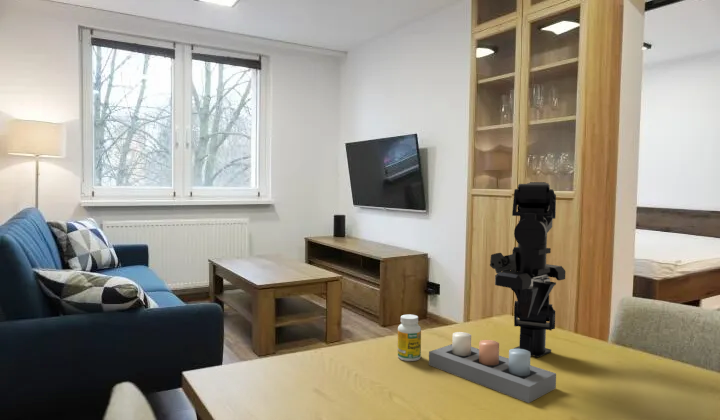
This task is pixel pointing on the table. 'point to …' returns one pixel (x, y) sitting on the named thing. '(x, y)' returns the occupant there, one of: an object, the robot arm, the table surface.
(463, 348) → the white short cylinder
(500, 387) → the grey socket tray
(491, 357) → the peach rounded piece
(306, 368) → the table surface
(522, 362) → the slate button
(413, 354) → the supplement bottle
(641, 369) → the table surface
